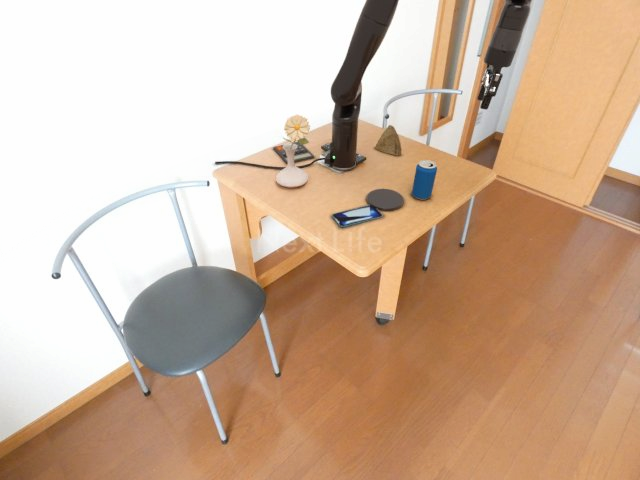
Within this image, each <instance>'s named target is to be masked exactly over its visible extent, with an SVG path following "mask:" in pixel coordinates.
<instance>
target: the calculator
mask: <svg viewBox="0 0 640 480" xmlns="http://www.w3.org/2000/svg"><path fill="white" fill-rule="evenodd" d="M294 144H296V145H297V146H298V147H297V149H296V150H295V153H294V164H295V163H299V162H303V161H307V160H312V159H314V158H315V156H314V154H313V153H311V151H310V150H308V149H307V147H306V146H304V145H301V144H299V142H298V141H295V143H294ZM283 145H284V144H281V145H277V146H273V150H274V152H275V153H276V154H277V155H278V156H279V157H280V158H281V159H282V160H283V161H284V163H285V164H286V165H288V159H287V154H286V151H285V150H284V149H283Z"/></svg>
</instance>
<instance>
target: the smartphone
mask: <svg viewBox="0 0 640 480" xmlns="http://www.w3.org/2000/svg"><path fill="white" fill-rule="evenodd" d="M383 217H384V215H383V213H382V212H381V210H378V209H376V208H374V207H372V206H371V205H369V204H367V205H364V206H359V207H355V208H352V209H348V210H342V211H339V212H335V213H332V214H331V218H332V219H333V220H334V222H335V223H336V224H337V226H338V227H339V228H340V229H345V228H349V227H353V226H357V225H360V224H363V223H367V222H372V221H375V220H379V219H382V218H383Z"/></svg>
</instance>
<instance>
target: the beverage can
mask: <svg viewBox="0 0 640 480" xmlns="http://www.w3.org/2000/svg"><path fill="white" fill-rule="evenodd" d="M437 172H438V166H437V163H436V161H434V160H431V159H422V160H420V161H419V160H418V163H417V165H416V167H415V172H414V178H413V183H412V188H411V195H412V196H413V197H414V198H415V199H417V200H420V201H425V200H427V199H430V198H431V197H432V194H433V189H434V185H435V181H436V176H437Z"/></svg>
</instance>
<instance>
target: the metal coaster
mask: <svg viewBox="0 0 640 480" xmlns="http://www.w3.org/2000/svg"><path fill="white" fill-rule="evenodd" d="M366 202H367V205H371V206H372V207H374V208H376V209H378V210H379V211H380V212H393V211H397V210H399V209H400V208H402V207H403V204H404V197H403V195H402V194H401V193H400V192H398V191H396V190H393V189H390V188H377V189H374V190H371V191H370V192H369V193H367V195H366Z"/></svg>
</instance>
